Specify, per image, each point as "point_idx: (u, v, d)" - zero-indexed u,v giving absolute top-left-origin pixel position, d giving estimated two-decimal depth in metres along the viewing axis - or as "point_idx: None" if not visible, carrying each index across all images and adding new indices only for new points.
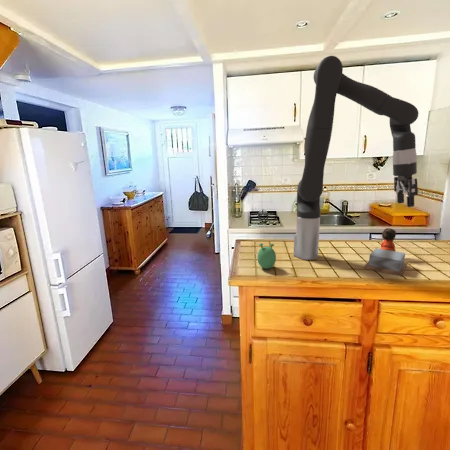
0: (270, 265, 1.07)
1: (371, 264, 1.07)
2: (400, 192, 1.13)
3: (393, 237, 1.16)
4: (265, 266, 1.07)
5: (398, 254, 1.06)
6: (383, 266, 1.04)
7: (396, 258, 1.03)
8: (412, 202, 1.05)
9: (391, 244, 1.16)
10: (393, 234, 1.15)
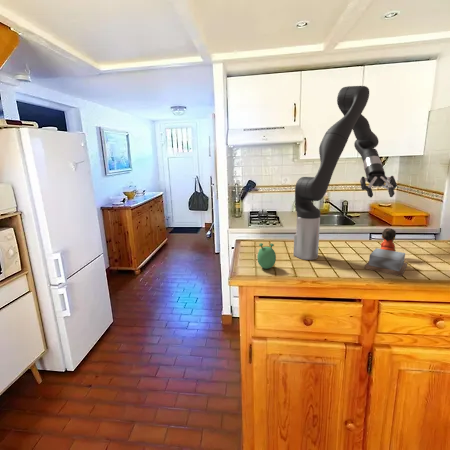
0: (270, 265, 1.07)
1: (371, 264, 1.07)
2: None
3: (393, 237, 1.16)
4: (265, 266, 1.07)
5: (398, 254, 1.06)
6: (383, 266, 1.04)
7: (396, 258, 1.03)
8: None
9: (391, 244, 1.16)
10: (393, 234, 1.15)
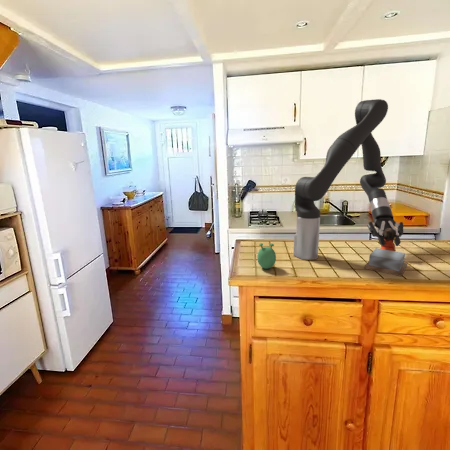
0: (270, 265, 1.07)
1: (371, 264, 1.07)
2: None
3: (393, 237, 1.16)
4: (265, 266, 1.07)
5: (398, 254, 1.06)
6: (383, 266, 1.04)
7: (396, 258, 1.03)
8: None
9: (391, 244, 1.16)
10: (393, 234, 1.15)
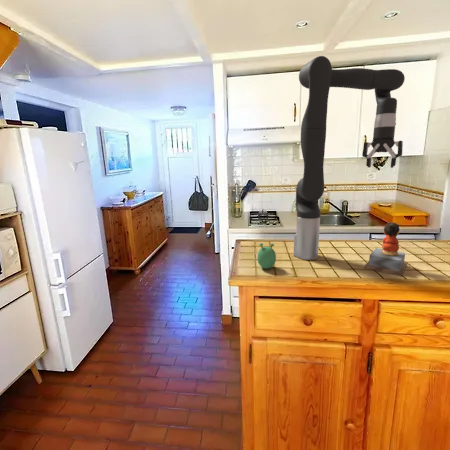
0: (270, 265, 1.07)
1: (371, 264, 1.07)
2: (370, 157, 1.20)
3: (397, 232, 1.04)
4: (265, 266, 1.07)
5: None
6: (383, 266, 1.04)
7: (396, 258, 1.03)
8: (395, 163, 1.15)
9: (394, 240, 1.04)
10: (397, 229, 1.03)
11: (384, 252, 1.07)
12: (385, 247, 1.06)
